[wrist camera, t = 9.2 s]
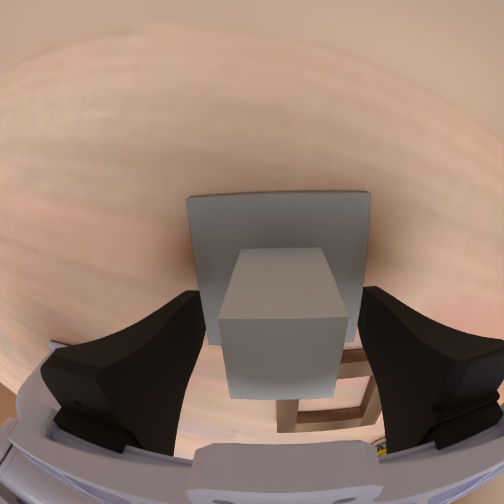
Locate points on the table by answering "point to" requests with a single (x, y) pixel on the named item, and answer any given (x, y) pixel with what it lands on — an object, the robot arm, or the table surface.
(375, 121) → the table surface
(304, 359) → the block
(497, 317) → the table surface
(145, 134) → the table surface
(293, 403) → the holder
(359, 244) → the coaster
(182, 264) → the table surface
